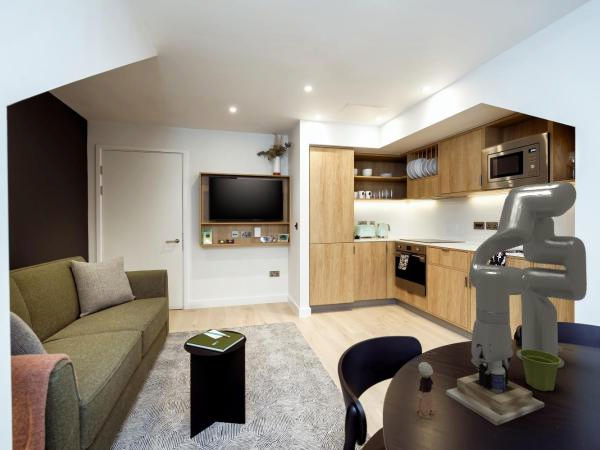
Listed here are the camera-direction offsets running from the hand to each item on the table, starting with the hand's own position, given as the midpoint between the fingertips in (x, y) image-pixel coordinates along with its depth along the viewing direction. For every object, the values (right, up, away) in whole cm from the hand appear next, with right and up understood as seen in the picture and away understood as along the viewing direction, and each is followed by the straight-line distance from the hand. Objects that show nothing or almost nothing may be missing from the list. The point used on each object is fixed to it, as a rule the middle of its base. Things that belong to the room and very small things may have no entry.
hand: (493, 383), depth 79 cm
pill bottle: (0, -2, 0) cm, 2 cm away
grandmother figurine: (-21, -5, -6) cm, 22 cm away
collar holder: (0, -4, 0) cm, 4 cm away
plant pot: (+18, -4, +7) cm, 19 cm away
